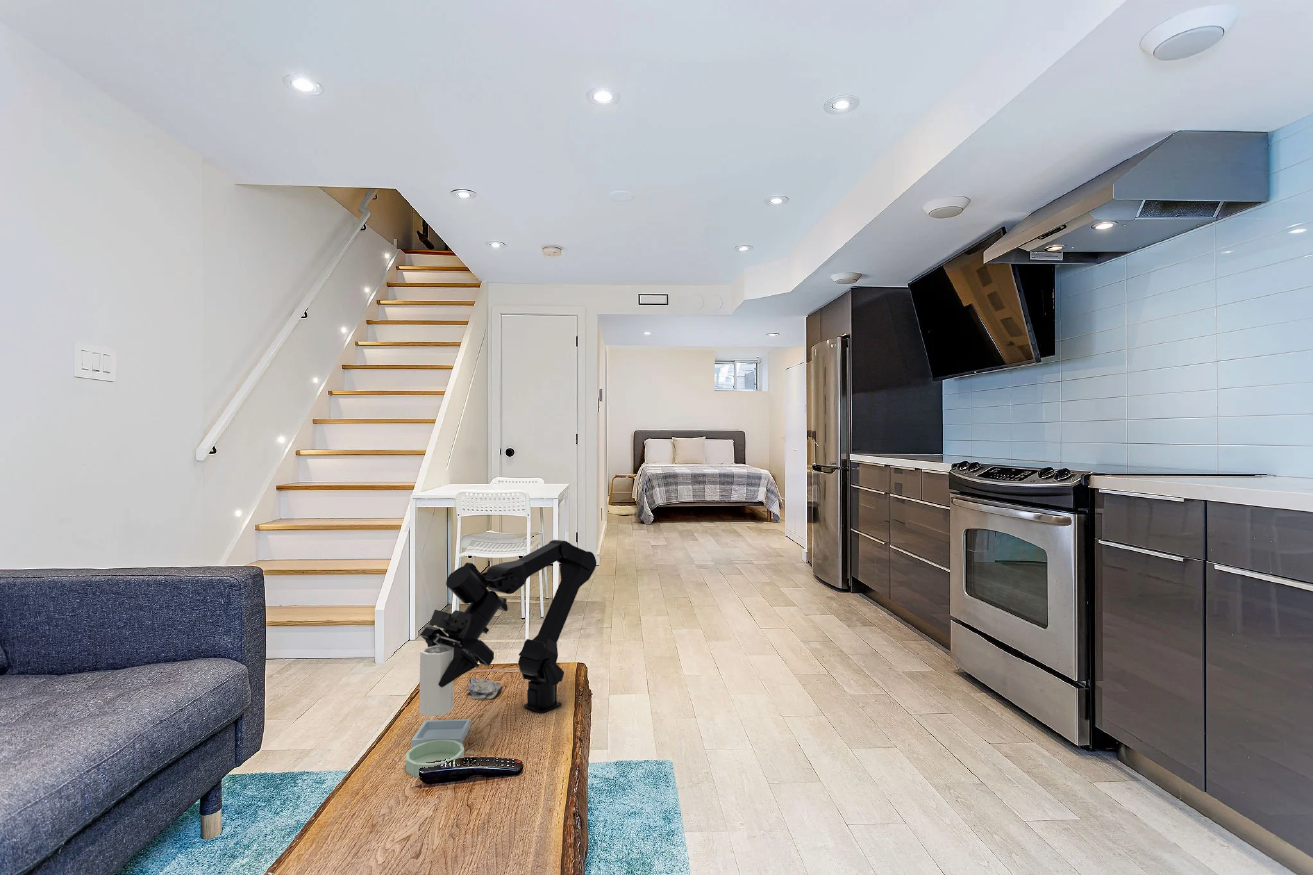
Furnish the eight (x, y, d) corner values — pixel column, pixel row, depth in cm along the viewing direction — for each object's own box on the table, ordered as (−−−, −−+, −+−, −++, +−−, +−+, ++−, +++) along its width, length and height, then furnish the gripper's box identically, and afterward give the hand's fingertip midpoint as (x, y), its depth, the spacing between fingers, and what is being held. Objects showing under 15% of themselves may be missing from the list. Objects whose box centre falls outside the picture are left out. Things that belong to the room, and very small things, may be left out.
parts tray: (424, 732, 139) (425, 720, 139) (470, 730, 139) (470, 719, 139) (411, 752, 129) (411, 739, 129) (460, 751, 130) (460, 738, 130)
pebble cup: (440, 702, 134) (441, 641, 135) (458, 709, 130) (459, 647, 131) (414, 710, 129) (415, 648, 130) (431, 718, 126) (432, 654, 126)
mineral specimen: (499, 704, 155) (499, 686, 156) (463, 706, 154) (463, 688, 154) (503, 683, 170) (503, 667, 170) (470, 685, 168) (470, 668, 169)
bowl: (442, 750, 130) (442, 735, 130) (474, 765, 124) (474, 749, 124) (394, 769, 122) (394, 753, 122) (426, 787, 116) (426, 770, 116)
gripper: (428, 588, 139) (379, 651, 130) (482, 600, 128) (432, 670, 119) (459, 617, 145) (414, 680, 136) (513, 631, 134) (468, 701, 125)
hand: (430, 682), depth 129 cm, fingers closed on pebble cup, 6 cm apart
